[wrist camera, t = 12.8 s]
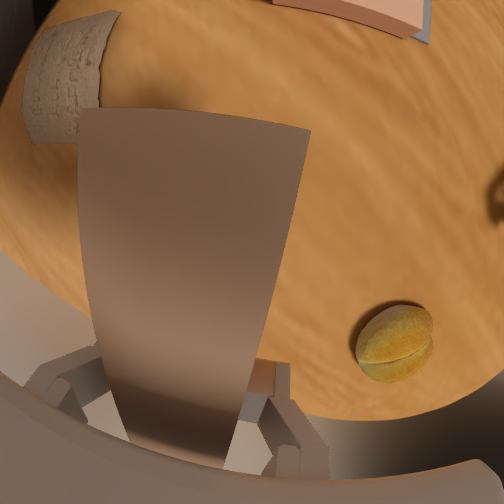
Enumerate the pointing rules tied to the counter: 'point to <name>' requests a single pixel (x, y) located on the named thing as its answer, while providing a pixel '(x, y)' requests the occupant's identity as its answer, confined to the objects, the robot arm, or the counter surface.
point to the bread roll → (395, 343)
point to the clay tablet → (64, 77)
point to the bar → (182, 263)
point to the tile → (371, 13)
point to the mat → (425, 24)
